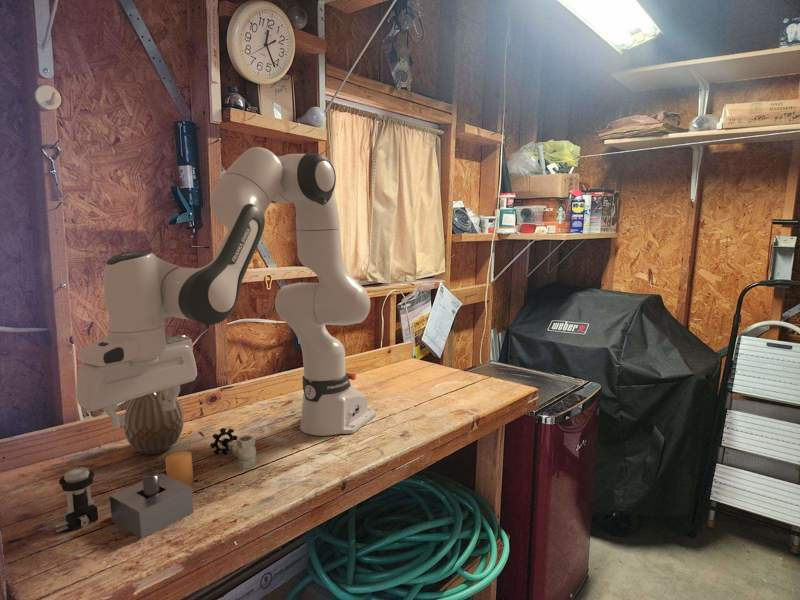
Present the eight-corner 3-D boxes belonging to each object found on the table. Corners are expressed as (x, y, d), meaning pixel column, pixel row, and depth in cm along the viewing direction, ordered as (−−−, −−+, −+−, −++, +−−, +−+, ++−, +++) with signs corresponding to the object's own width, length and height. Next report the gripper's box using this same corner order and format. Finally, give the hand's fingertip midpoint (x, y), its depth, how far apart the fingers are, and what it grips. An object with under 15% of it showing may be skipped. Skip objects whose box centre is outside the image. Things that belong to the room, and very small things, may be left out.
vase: (173, 433, 131) (168, 369, 129) (193, 448, 122) (188, 379, 119) (119, 448, 122) (112, 380, 120) (136, 466, 113) (129, 391, 110)
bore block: (163, 496, 99) (161, 473, 99) (193, 511, 94) (191, 486, 93) (111, 521, 91) (109, 495, 90) (141, 539, 86) (139, 512, 85)
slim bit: (156, 511, 94) (153, 471, 93) (164, 515, 93) (161, 474, 92) (143, 517, 92) (139, 477, 91) (150, 522, 91) (147, 480, 90)
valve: (265, 463, 113) (236, 449, 121) (263, 436, 113) (234, 423, 120) (239, 474, 108) (210, 459, 116) (238, 445, 108) (209, 432, 115)
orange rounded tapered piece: (184, 475, 108) (182, 449, 107) (198, 481, 105) (196, 455, 104) (162, 485, 104) (160, 458, 103) (176, 492, 101) (174, 464, 100)
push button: (62, 539, 86) (56, 485, 84) (51, 528, 89) (45, 476, 88) (104, 521, 91) (98, 470, 90) (91, 512, 94) (86, 462, 93)
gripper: (181, 330, 98) (187, 397, 100) (67, 354, 81) (77, 433, 84) (200, 334, 95) (206, 403, 97) (85, 359, 78) (95, 442, 80)
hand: (145, 417), depth 90 cm, fingers open, 8 cm apart
